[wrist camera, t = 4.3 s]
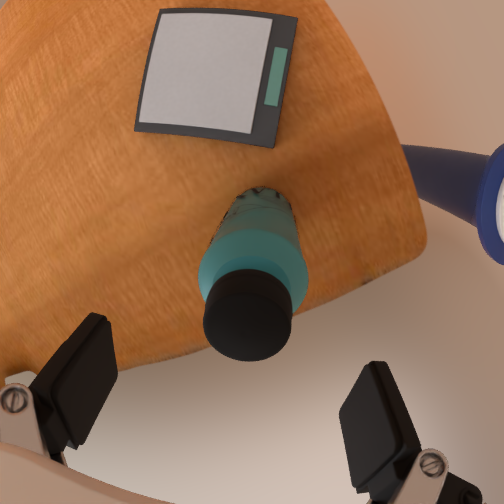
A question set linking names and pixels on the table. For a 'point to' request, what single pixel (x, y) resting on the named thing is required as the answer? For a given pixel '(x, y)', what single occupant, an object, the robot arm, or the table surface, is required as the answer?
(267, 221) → the beverage bottle
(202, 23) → the scale
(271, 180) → the table surface
